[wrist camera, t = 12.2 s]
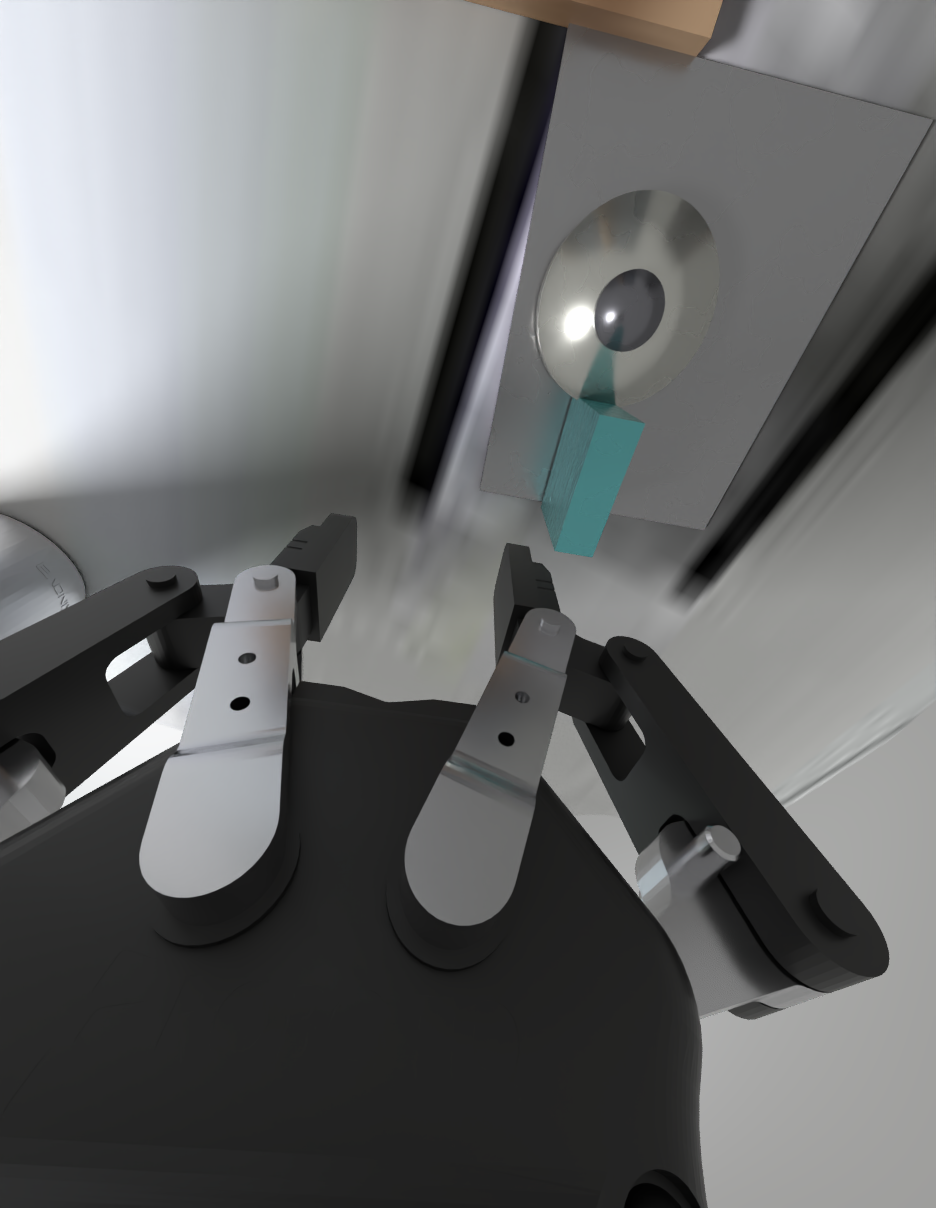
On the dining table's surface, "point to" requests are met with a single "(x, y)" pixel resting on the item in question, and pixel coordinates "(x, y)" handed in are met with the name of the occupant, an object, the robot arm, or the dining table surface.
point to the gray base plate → (741, 233)
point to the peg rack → (628, 18)
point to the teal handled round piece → (618, 342)
